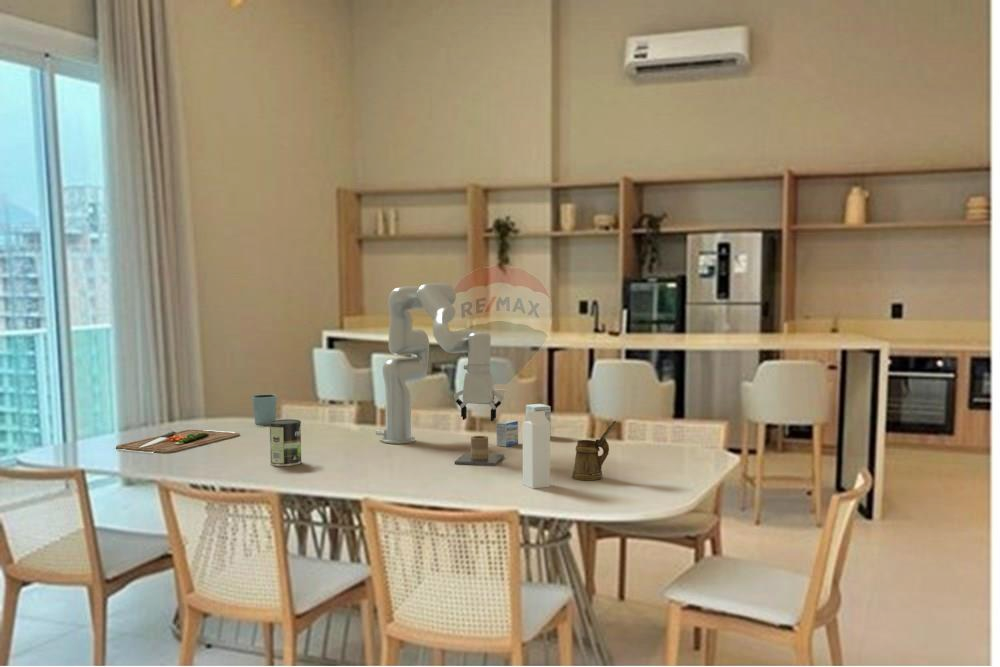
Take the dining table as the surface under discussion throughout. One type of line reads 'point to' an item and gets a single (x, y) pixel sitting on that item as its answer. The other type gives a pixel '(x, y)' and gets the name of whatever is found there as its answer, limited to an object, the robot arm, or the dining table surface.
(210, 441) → the chopping board
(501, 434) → the medicine box
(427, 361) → the robot arm
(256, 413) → the blue cup
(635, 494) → the dining table surface
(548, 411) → the supplement box
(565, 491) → the dining table surface
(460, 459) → the holder
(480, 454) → the cylinder
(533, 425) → the milk
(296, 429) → the coffee can
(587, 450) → the wooden mug
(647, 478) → the dining table surface
